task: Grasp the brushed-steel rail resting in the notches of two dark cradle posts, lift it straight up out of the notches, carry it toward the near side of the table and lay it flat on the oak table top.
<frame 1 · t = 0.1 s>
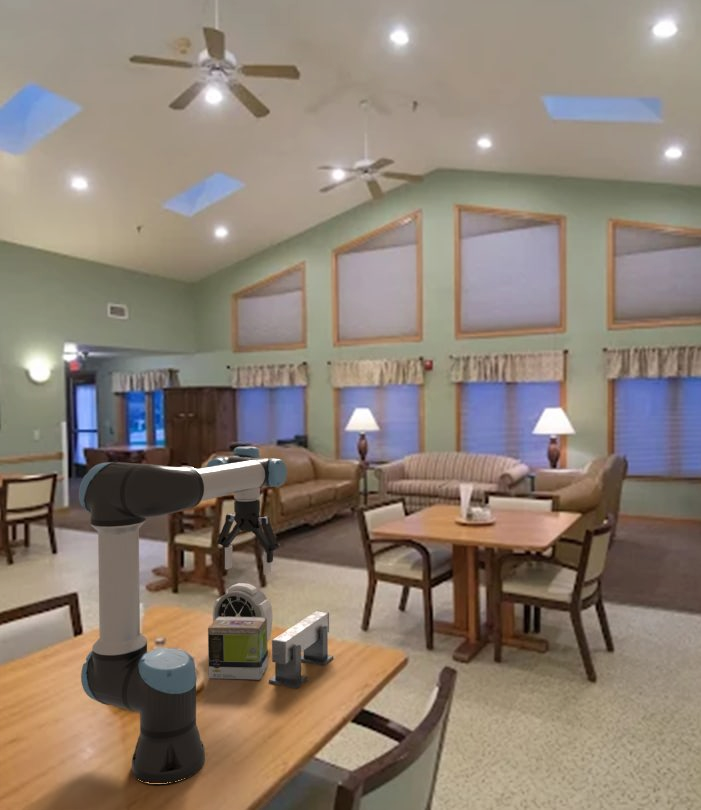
hand: (247, 570, 186), 28 cm above the table, fingers open, 13 cm apart
post b: (315, 659, 190), on the table
alarm clock: (243, 648, 199), on the table
rail: (302, 645, 182), point 7 cm above the table, touching post a, post b
tea box: (238, 673, 181), on the table
post a: (288, 681, 175), on the table
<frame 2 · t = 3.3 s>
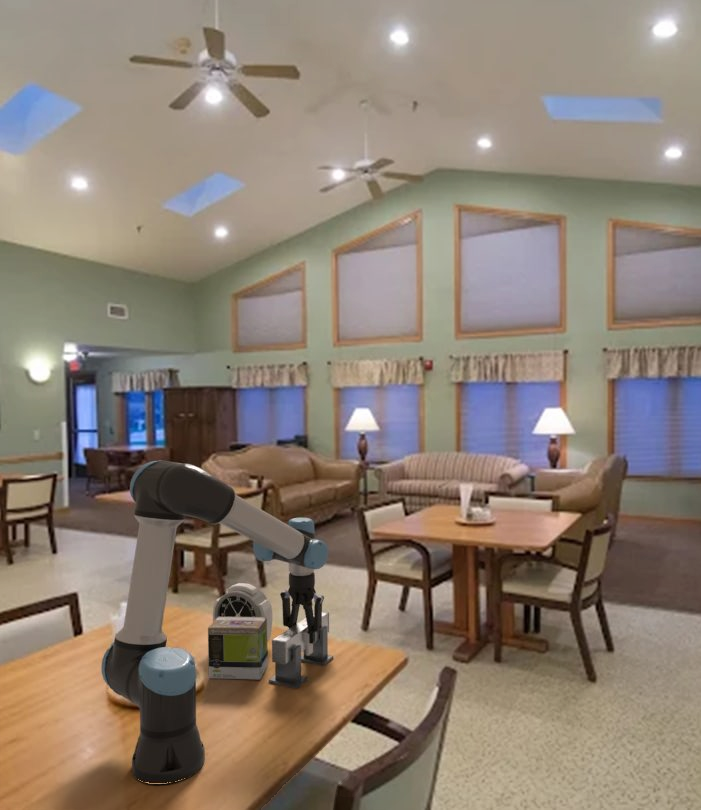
hand: (302, 652, 182), 5 cm above the table, fingers closed on rail, 4 cm apart
rail: (302, 645, 182), point 7 cm above the table, touching gripper, post b
everything else where it was.
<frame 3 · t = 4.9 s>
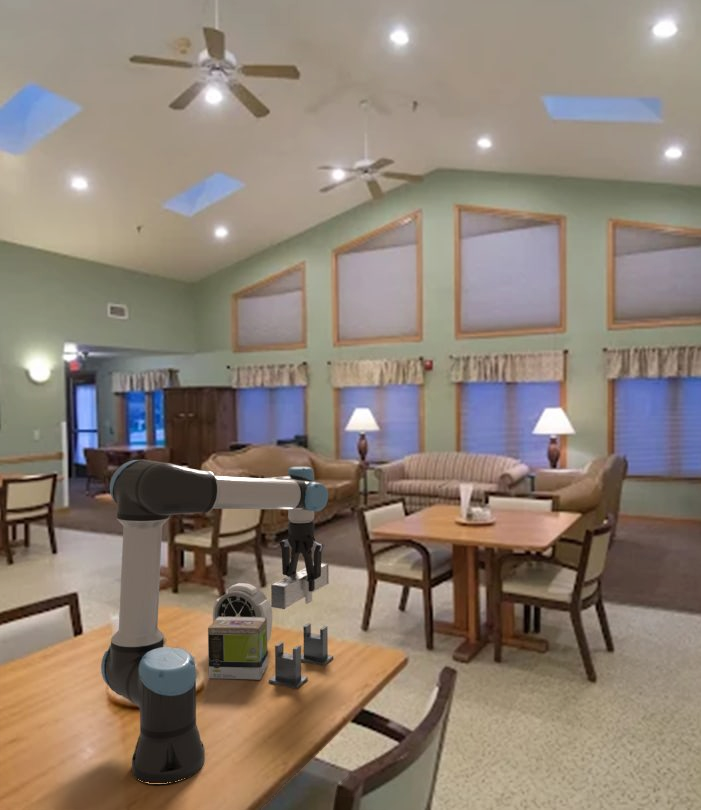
hand: (301, 600, 182), 20 cm above the table, fingers closed on rail, 4 cm apart
rail: (301, 594, 182), point 22 cm above the table, touching gripper
everything else where it was.
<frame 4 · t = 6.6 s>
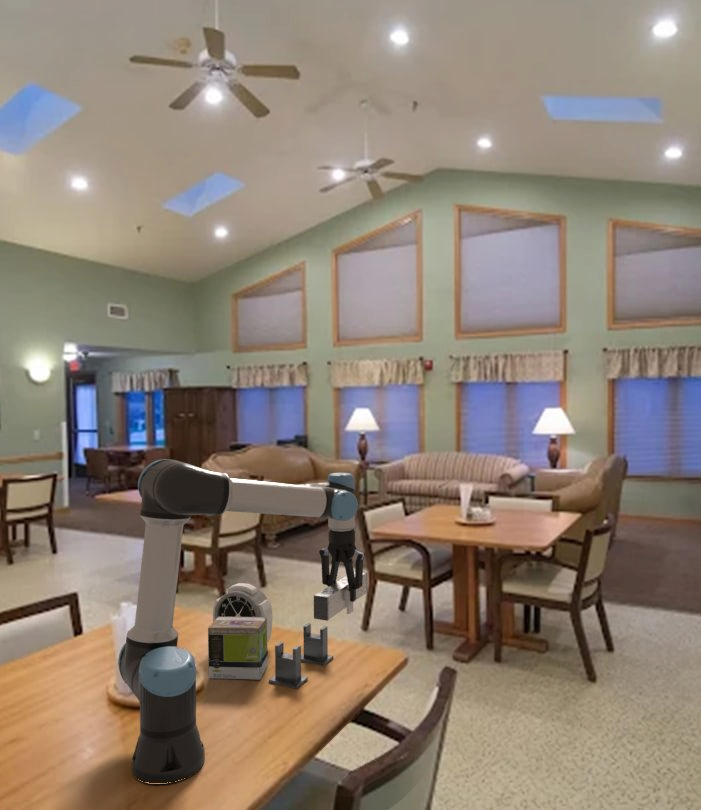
hand: (342, 611, 177), 19 cm above the table, fingers closed on rail, 4 cm apart
rail: (342, 604, 177), point 21 cm above the table, touching gripper
everything else where it was.
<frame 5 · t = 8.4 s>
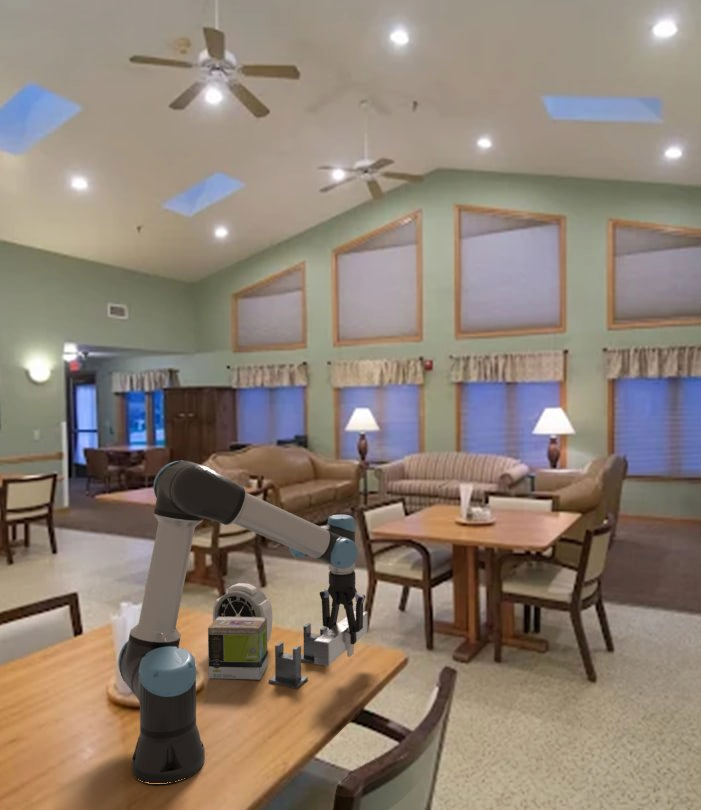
hand: (342, 653, 177), 7 cm above the table, fingers closed on rail, 4 cm apart
rail: (342, 646, 177), point 9 cm above the table, touching gripper
everything else where it was.
when the fingers open (1 cm above the table, at t = 10.0 s): rail drops 2 cm, on the table.
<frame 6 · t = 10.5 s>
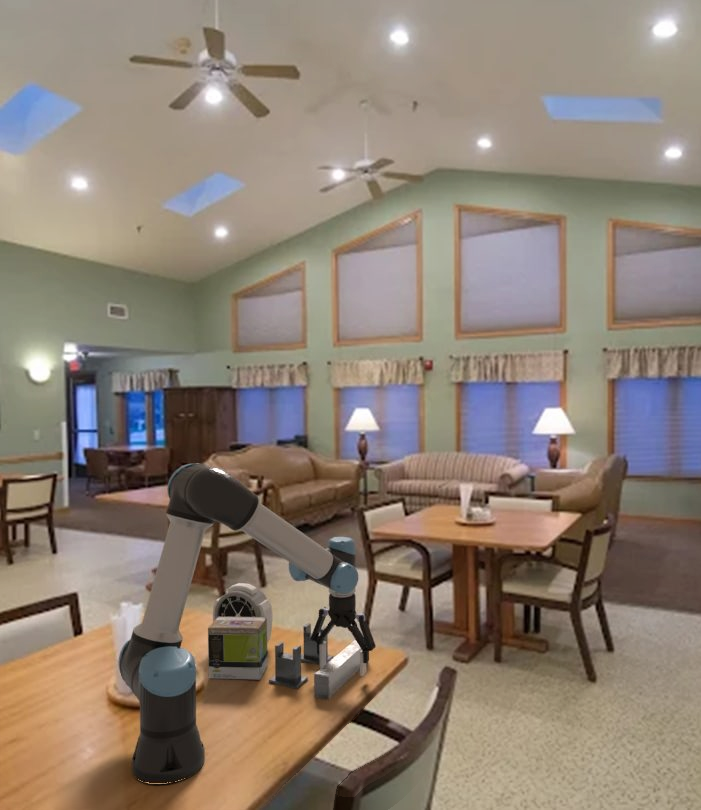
hand: (342, 669, 177), 2 cm above the table, fingers open, 12 cm apart
rail: (342, 678, 177), on the table
everything else where it was.
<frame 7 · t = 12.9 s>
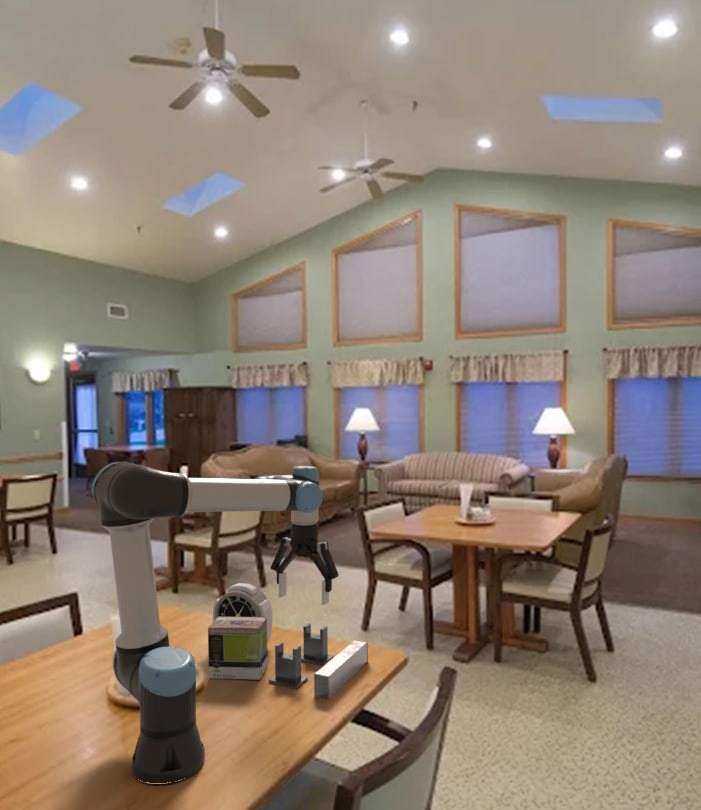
hand: (303, 599, 173), 23 cm above the table, fingers open, 13 cm apart
nothing on the table moved.
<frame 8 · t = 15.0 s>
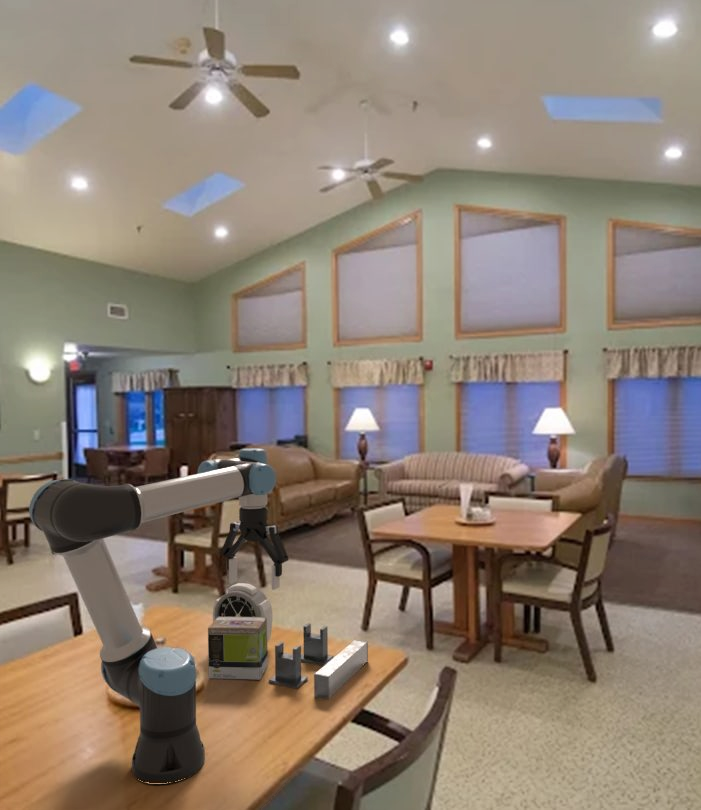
hand: (254, 585, 169), 29 cm above the table, fingers open, 13 cm apart
nothing on the table moved.
at the end: rail inside the target area (0.0 cm from its centre), on the table; rail tilted 0°; the gripper is holding nothing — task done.
